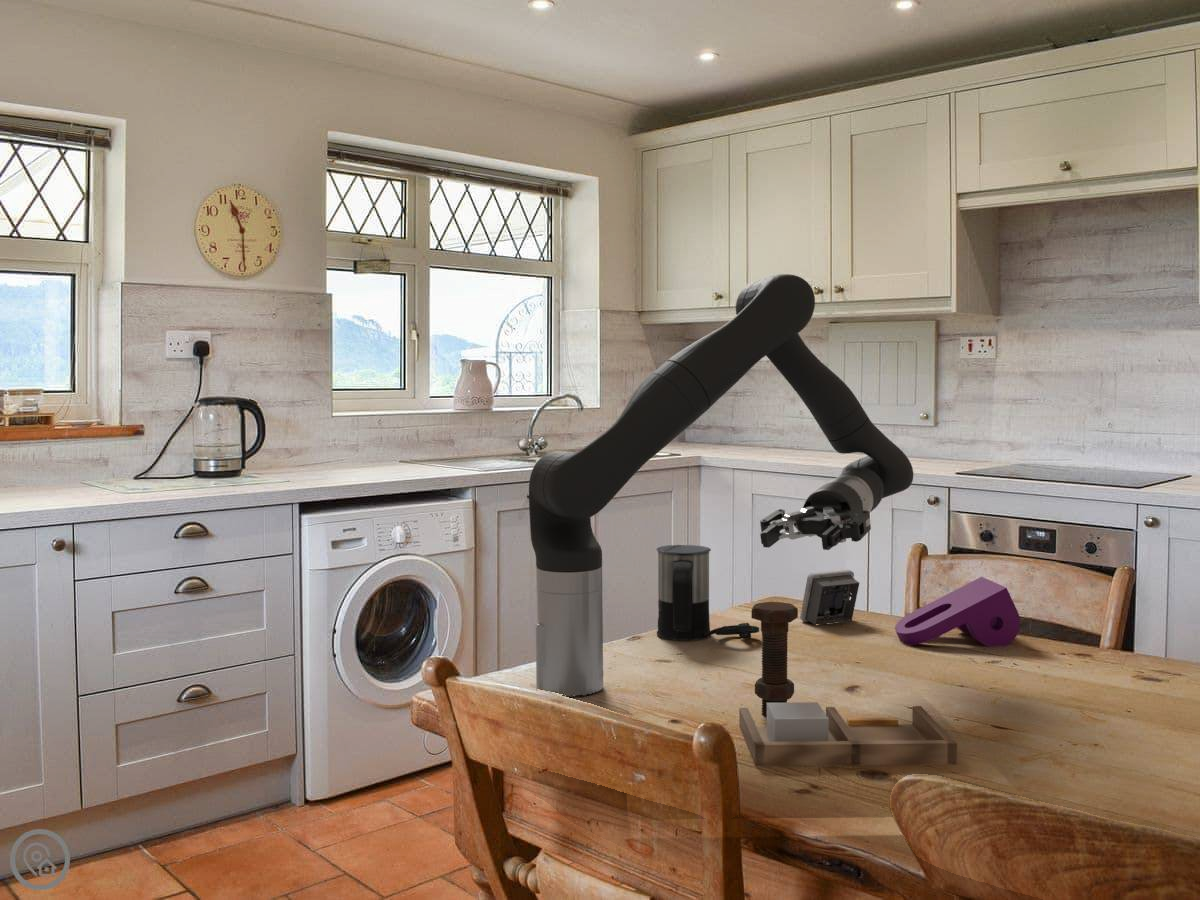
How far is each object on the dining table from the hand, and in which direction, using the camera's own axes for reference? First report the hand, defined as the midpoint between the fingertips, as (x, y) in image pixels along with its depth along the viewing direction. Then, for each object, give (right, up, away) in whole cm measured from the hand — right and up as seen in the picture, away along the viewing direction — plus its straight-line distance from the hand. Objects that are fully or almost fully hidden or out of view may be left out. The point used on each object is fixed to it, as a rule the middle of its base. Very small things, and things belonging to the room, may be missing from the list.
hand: (794, 541), depth 141 cm
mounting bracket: (+32, -20, +34) cm, 51 cm away
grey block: (-3, -22, -18) cm, 28 cm away
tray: (+2, -23, -18) cm, 29 cm away
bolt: (-4, -22, -7) cm, 24 cm away
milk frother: (-8, -19, +37) cm, 43 cm away
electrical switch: (+15, -19, +47) cm, 53 cm away
